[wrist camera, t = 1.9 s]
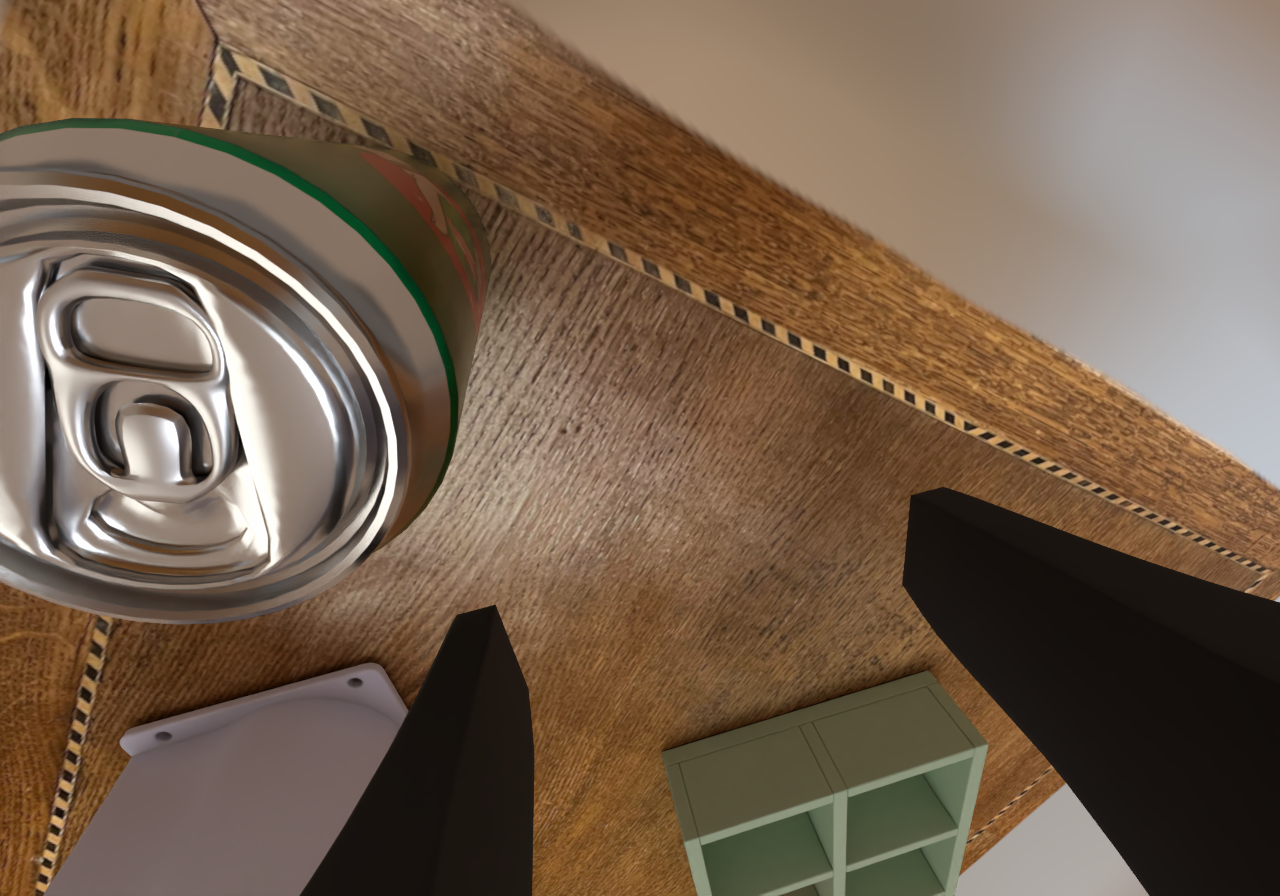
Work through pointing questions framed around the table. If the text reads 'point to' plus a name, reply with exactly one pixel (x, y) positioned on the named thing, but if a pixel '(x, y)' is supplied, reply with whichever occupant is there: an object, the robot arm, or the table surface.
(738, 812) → the tray
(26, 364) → the soda can
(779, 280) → the table surface
